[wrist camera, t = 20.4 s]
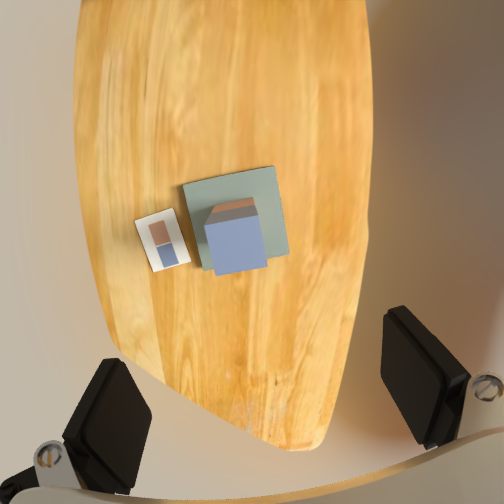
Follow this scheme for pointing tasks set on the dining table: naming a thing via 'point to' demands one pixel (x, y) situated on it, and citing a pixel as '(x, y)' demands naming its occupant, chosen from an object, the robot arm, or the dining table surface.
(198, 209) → the baseplate
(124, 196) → the dining table surface
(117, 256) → the dining table surface
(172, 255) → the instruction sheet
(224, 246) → the brick
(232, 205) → the brick
